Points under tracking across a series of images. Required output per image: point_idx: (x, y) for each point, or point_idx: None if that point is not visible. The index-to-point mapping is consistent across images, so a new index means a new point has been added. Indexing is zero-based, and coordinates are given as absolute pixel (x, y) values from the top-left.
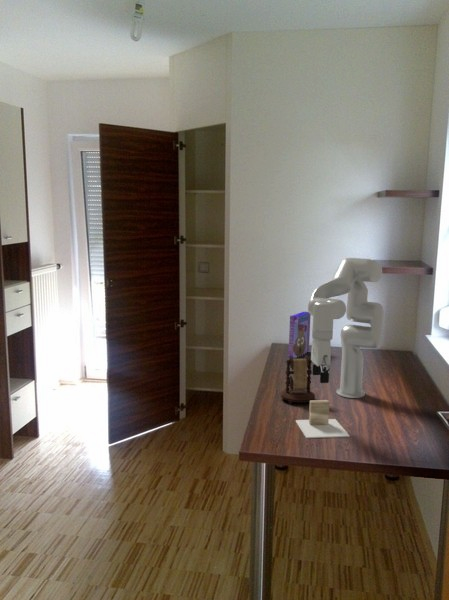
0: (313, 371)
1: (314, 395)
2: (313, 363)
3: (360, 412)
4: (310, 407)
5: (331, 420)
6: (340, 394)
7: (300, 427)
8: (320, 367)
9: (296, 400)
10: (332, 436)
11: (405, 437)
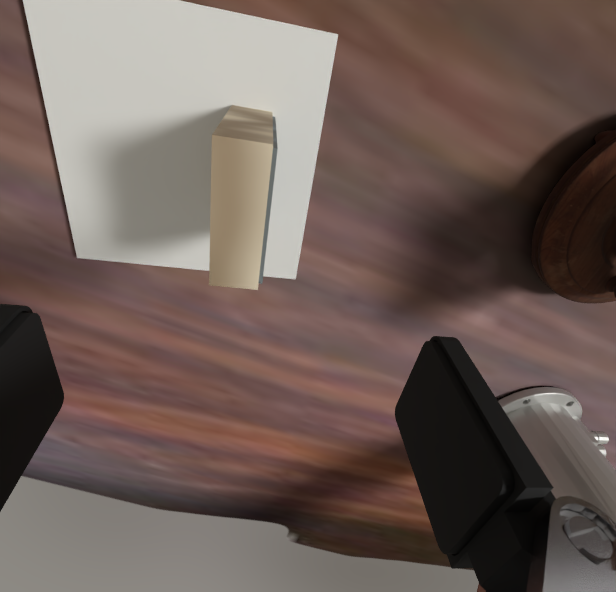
0: (448, 379)
1: (564, 295)
2: (571, 527)
3: (347, 389)
4: (240, 127)
5: (281, 254)
6: (528, 393)
7: (201, 6)
8: (431, 514)
9: (577, 173)
10: (58, 167)
11: (96, 426)
